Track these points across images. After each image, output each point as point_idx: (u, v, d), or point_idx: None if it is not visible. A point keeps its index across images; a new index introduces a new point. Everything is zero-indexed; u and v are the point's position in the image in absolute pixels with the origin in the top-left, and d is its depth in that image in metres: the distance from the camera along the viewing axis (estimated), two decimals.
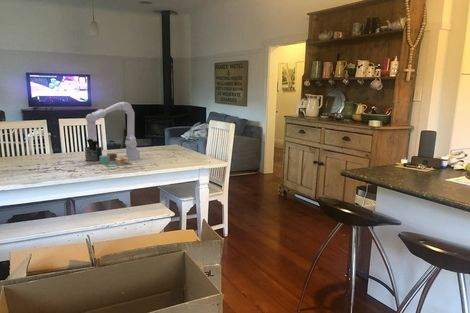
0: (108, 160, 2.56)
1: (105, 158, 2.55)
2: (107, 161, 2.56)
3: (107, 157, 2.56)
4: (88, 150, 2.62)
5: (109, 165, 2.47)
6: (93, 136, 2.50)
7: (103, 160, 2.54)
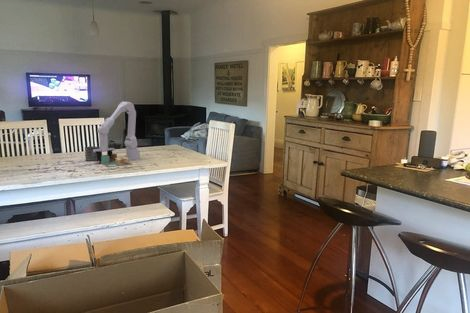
0: (108, 160, 2.56)
1: (105, 158, 2.55)
2: (107, 161, 2.56)
3: (107, 157, 2.56)
4: (88, 150, 2.62)
5: (109, 165, 2.47)
6: (100, 148, 2.54)
7: (103, 160, 2.54)
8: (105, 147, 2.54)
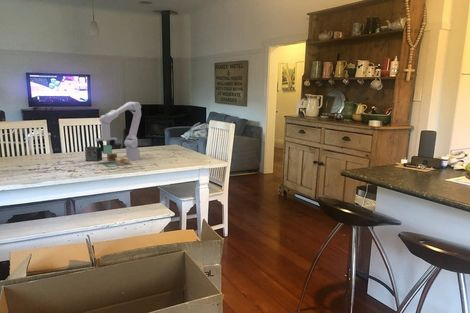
0: (110, 150, 2.54)
1: (107, 148, 2.53)
2: (109, 151, 2.54)
3: (109, 147, 2.54)
4: (88, 150, 2.62)
5: (109, 165, 2.47)
6: (102, 137, 2.52)
7: (105, 150, 2.52)
8: (107, 136, 2.52)
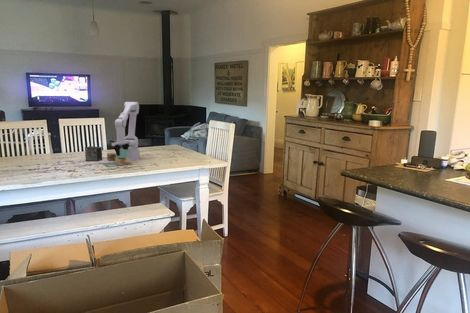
0: (126, 153, 2.53)
1: (123, 151, 2.51)
2: (125, 155, 2.53)
3: (125, 150, 2.52)
4: (88, 150, 2.62)
5: (109, 165, 2.47)
6: (118, 141, 2.49)
7: (122, 154, 2.50)
8: (123, 140, 2.50)
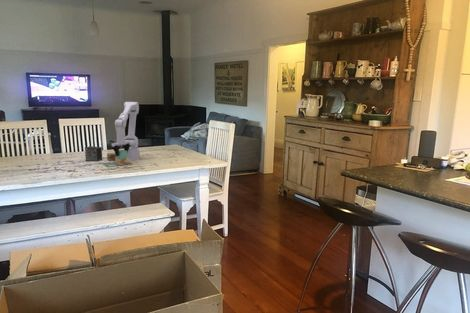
0: (126, 155, 2.53)
1: (124, 153, 2.51)
2: (125, 156, 2.53)
3: (125, 152, 2.52)
4: (88, 150, 2.62)
5: (109, 165, 2.47)
6: (118, 142, 2.49)
7: (122, 155, 2.50)
8: (123, 141, 2.50)
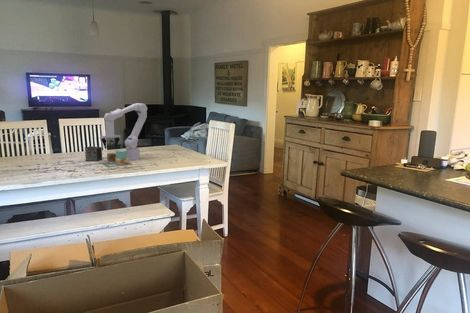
0: (126, 155, 2.53)
1: (124, 153, 2.51)
2: (125, 156, 2.53)
3: (125, 152, 2.52)
4: (88, 150, 2.62)
5: (109, 165, 2.47)
6: (106, 135, 2.57)
7: (122, 155, 2.50)
8: (111, 134, 2.56)
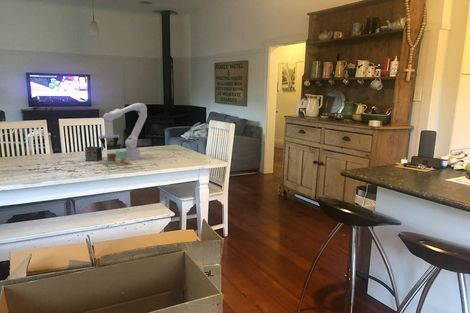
0: (126, 155, 2.53)
1: (124, 153, 2.51)
2: (125, 156, 2.53)
3: (125, 152, 2.52)
4: (88, 150, 2.62)
5: (109, 165, 2.47)
6: (105, 134, 2.57)
7: (122, 155, 2.50)
8: (110, 134, 2.57)
